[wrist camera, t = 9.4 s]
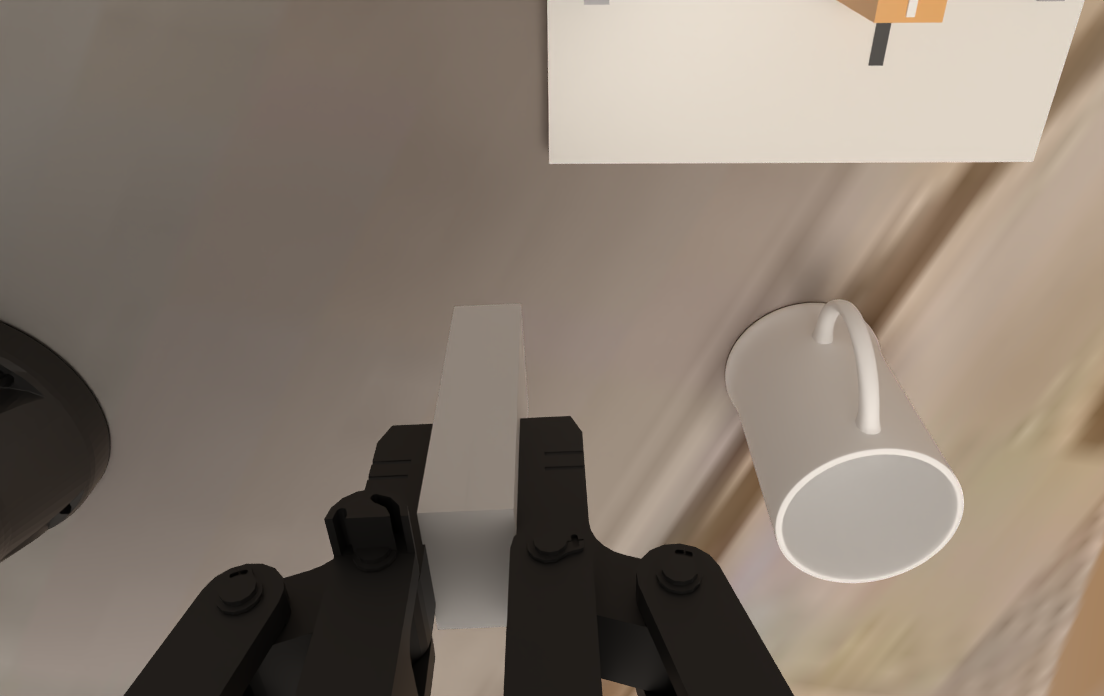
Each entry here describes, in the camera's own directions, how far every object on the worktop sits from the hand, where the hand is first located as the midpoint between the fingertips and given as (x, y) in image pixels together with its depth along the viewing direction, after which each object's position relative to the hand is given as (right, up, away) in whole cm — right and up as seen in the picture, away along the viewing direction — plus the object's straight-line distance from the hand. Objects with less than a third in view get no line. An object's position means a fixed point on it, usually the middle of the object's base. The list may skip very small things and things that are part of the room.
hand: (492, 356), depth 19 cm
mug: (+15, +1, +26) cm, 30 cm away
